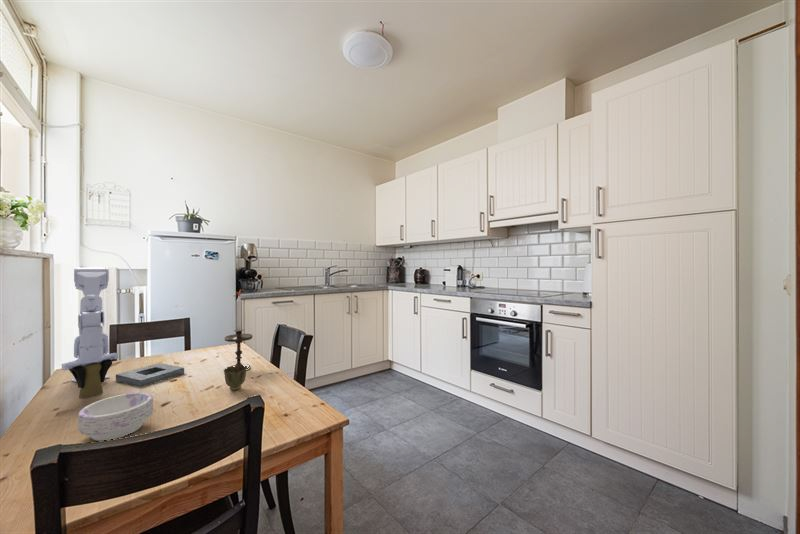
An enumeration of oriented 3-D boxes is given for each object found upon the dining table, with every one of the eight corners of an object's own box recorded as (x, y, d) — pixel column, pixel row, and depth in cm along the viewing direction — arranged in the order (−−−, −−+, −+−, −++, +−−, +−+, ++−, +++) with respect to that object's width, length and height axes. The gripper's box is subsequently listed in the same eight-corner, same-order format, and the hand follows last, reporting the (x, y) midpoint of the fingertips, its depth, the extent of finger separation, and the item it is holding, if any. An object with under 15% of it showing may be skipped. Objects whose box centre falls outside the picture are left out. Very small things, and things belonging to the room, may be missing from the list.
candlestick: (244, 364, 147) (244, 287, 147) (257, 368, 141) (257, 289, 141) (219, 370, 139) (220, 289, 138) (232, 375, 132) (232, 290, 132)
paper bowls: (61, 444, 81) (61, 413, 81) (122, 416, 96) (122, 390, 96) (111, 450, 78) (111, 418, 78) (166, 421, 93) (166, 394, 93)
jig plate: (115, 380, 125) (115, 374, 125) (159, 368, 140) (159, 362, 140) (140, 387, 119) (140, 380, 119) (184, 373, 134) (184, 367, 134)
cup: (223, 395, 112) (223, 372, 112) (223, 388, 119) (224, 366, 119) (247, 391, 116) (247, 369, 116) (246, 384, 122) (246, 363, 122)
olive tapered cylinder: (88, 398, 108) (88, 366, 108) (74, 397, 110) (74, 365, 110) (107, 391, 114) (107, 361, 114) (94, 390, 115) (94, 360, 115)
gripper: (69, 352, 104) (69, 394, 104) (122, 342, 117) (122, 379, 117) (58, 349, 106) (58, 390, 106) (111, 340, 120) (111, 376, 120)
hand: (91, 384), depth 112 cm, fingers closed on olive tapered cylinder, 5 cm apart
